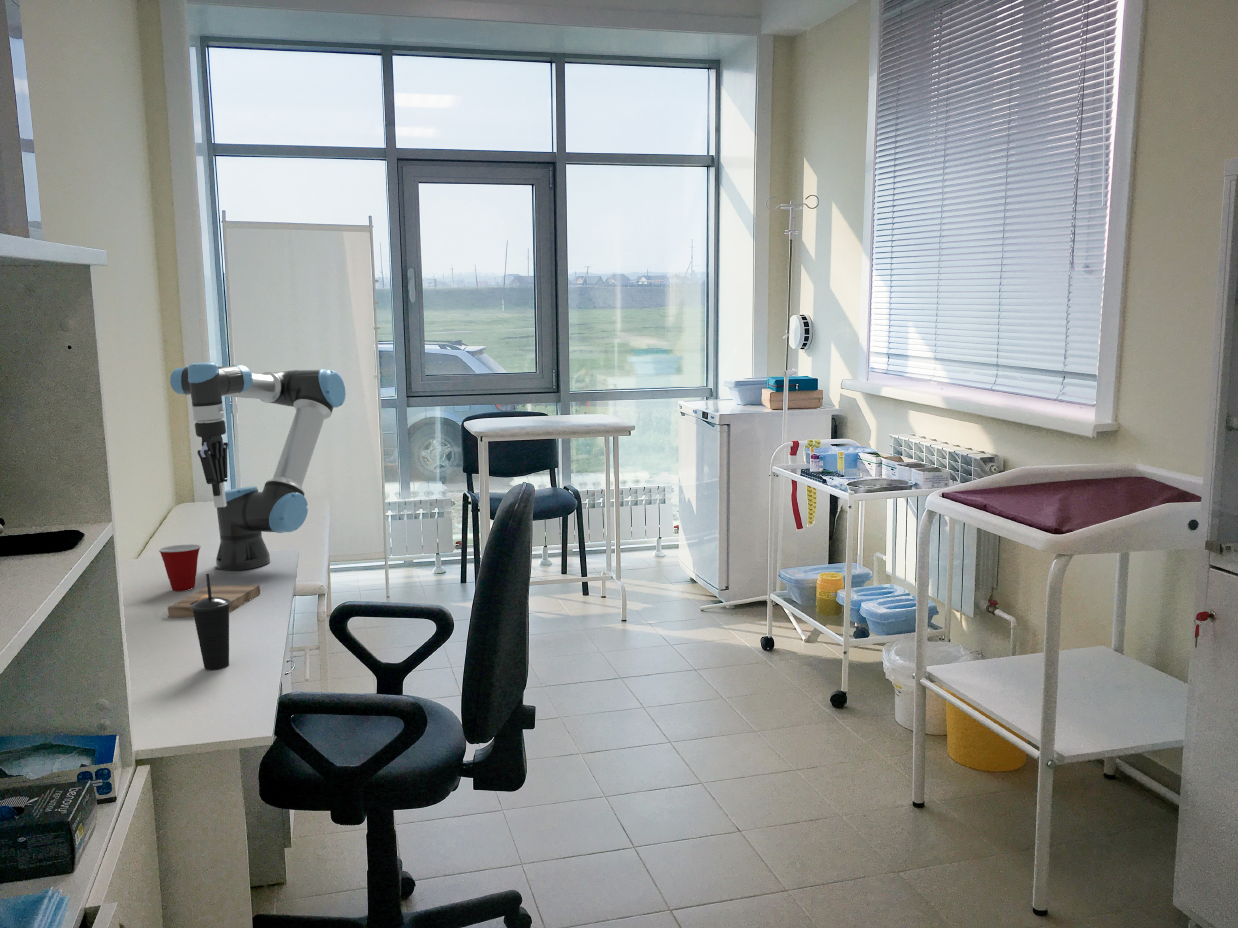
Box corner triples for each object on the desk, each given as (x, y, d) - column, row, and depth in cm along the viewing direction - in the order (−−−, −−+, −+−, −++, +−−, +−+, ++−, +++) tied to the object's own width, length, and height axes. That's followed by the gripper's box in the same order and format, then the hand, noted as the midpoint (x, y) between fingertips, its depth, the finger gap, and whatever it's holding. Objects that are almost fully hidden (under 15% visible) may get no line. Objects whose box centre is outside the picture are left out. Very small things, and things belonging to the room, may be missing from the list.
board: (210, 594, 263) (209, 585, 263) (260, 594, 261) (259, 585, 261) (168, 617, 243) (167, 607, 243) (222, 617, 242) (221, 607, 241)
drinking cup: (212, 675, 201) (202, 580, 198) (189, 669, 205) (179, 576, 202) (244, 663, 208) (235, 571, 205) (221, 657, 212) (212, 567, 209)
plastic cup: (212, 582, 275) (208, 541, 273) (192, 593, 264) (187, 550, 262) (175, 583, 276) (171, 541, 274) (154, 594, 265) (149, 550, 264)
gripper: (211, 423, 256) (223, 511, 260) (234, 416, 268) (244, 500, 273) (183, 424, 256) (195, 512, 261) (207, 417, 269) (218, 501, 273)
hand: (220, 506), depth 267 cm, fingers closed
